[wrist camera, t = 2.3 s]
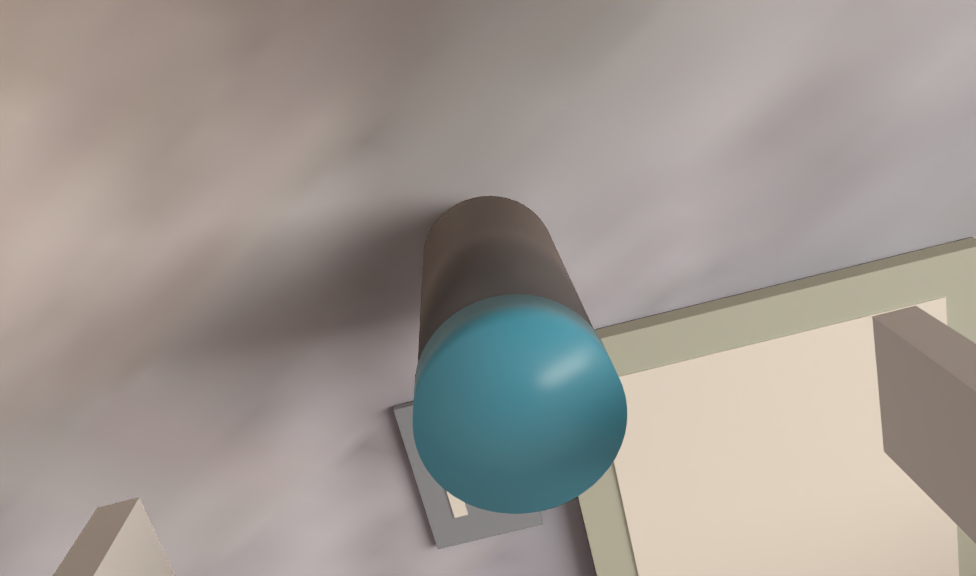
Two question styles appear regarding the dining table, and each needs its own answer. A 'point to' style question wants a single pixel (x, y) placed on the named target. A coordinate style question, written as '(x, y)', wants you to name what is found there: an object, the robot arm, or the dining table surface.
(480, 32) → the dining table surface
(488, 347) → the marker
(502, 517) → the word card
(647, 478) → the cream square framed board
